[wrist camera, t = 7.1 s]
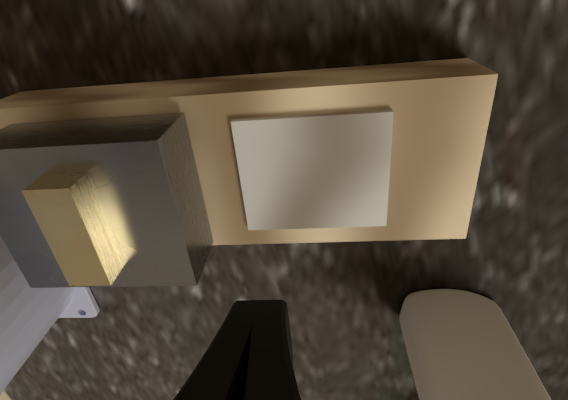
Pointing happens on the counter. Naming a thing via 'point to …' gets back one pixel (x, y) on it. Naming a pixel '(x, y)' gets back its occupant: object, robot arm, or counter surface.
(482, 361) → the eye dropper bottle
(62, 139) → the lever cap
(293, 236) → the body
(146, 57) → the counter surface
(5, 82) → the counter surface
